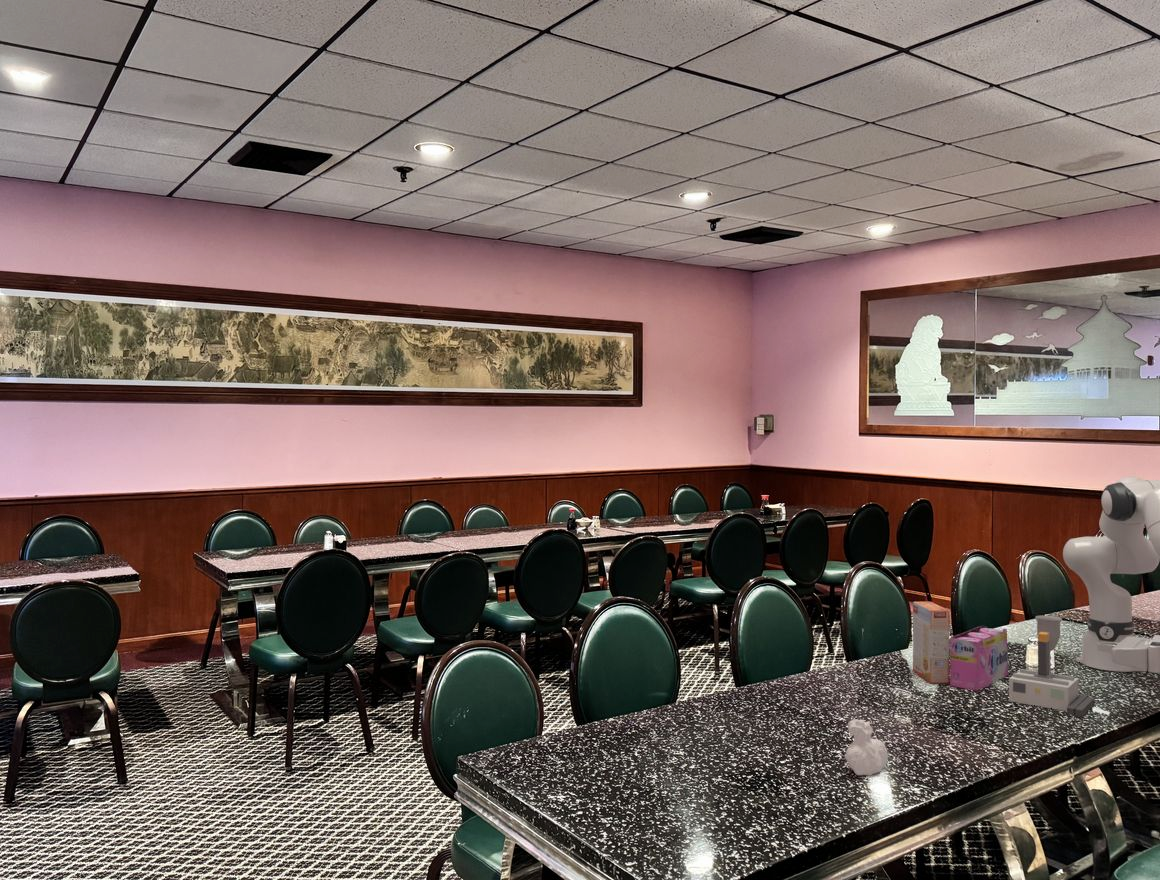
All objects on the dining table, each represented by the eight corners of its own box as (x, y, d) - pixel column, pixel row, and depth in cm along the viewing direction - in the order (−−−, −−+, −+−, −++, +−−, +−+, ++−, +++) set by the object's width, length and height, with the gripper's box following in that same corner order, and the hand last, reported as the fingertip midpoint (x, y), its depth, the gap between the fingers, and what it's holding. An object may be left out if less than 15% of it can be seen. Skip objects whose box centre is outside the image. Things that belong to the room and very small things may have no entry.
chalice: (1059, 686, 254) (1059, 621, 254) (1032, 682, 259) (1032, 618, 258) (1064, 680, 260) (1064, 617, 260) (1038, 676, 264) (1038, 614, 264)
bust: (881, 773, 195) (854, 724, 201) (905, 760, 191) (877, 709, 196) (845, 787, 188) (818, 735, 194) (870, 773, 183) (842, 720, 189)
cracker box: (950, 684, 257) (950, 609, 257) (929, 684, 257) (929, 609, 257) (932, 671, 271) (932, 600, 271) (912, 671, 271) (912, 600, 271)
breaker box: (1020, 692, 249) (1020, 667, 249) (1078, 701, 240) (1078, 675, 240) (1008, 701, 240) (1008, 675, 240) (1067, 711, 231) (1067, 684, 231)
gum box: (983, 670, 272) (983, 624, 272) (1010, 675, 267) (1010, 628, 267) (949, 685, 256) (949, 637, 256) (977, 691, 250) (977, 641, 250)
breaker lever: (1038, 675, 243) (1038, 630, 243) (1053, 677, 241) (1053, 632, 241) (1033, 678, 240) (1033, 633, 239) (1048, 681, 237) (1048, 635, 237)
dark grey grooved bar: (1081, 699, 241) (1081, 693, 241) (1096, 702, 239) (1096, 696, 239) (1067, 713, 229) (1067, 707, 229) (1082, 716, 227) (1082, 710, 227)
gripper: (1168, 634, 232) (1106, 627, 241) (1155, 647, 216) (1089, 639, 225) (1169, 659, 232) (1107, 651, 240) (1155, 674, 216) (1089, 665, 225)
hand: (1098, 646), depth 233 cm, fingers closed
